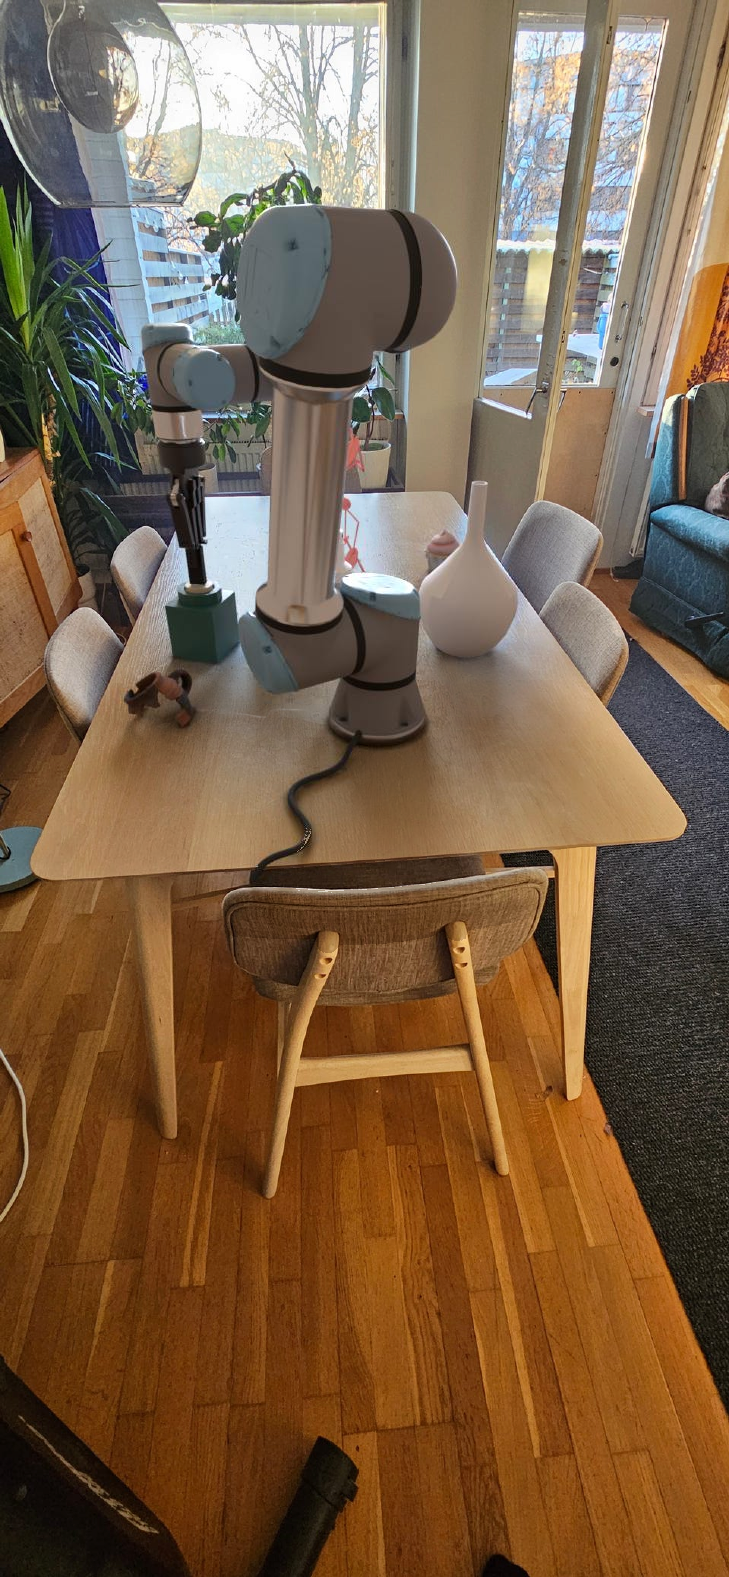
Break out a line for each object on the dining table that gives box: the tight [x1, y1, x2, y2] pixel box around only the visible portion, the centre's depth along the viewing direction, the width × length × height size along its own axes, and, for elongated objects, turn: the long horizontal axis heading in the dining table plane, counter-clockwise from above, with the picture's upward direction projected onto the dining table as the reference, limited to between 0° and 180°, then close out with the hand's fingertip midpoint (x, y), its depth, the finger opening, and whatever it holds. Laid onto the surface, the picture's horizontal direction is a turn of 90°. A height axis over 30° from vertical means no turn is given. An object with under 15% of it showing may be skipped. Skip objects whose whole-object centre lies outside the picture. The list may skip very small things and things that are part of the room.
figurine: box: [342, 427, 366, 573], centre depth 161 cm, size 15×26×35 cm, turn 12°
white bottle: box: [334, 528, 353, 592], centre depth 142 cm, size 7×7×18 cm
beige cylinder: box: [185, 579, 213, 593], centre depth 129 cm, size 5×5×3 cm
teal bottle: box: [164, 579, 240, 664], centre depth 132 cm, size 10×9×12 cm
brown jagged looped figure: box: [123, 668, 195, 727], centre depth 115 cm, size 12×10×8 cm
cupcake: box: [423, 529, 460, 574], centre depth 168 cm, size 9×9×10 cm
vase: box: [418, 480, 519, 658], centre depth 129 cm, size 18×18×30 cm
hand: (198, 582), depth 128 cm, fingers closed
